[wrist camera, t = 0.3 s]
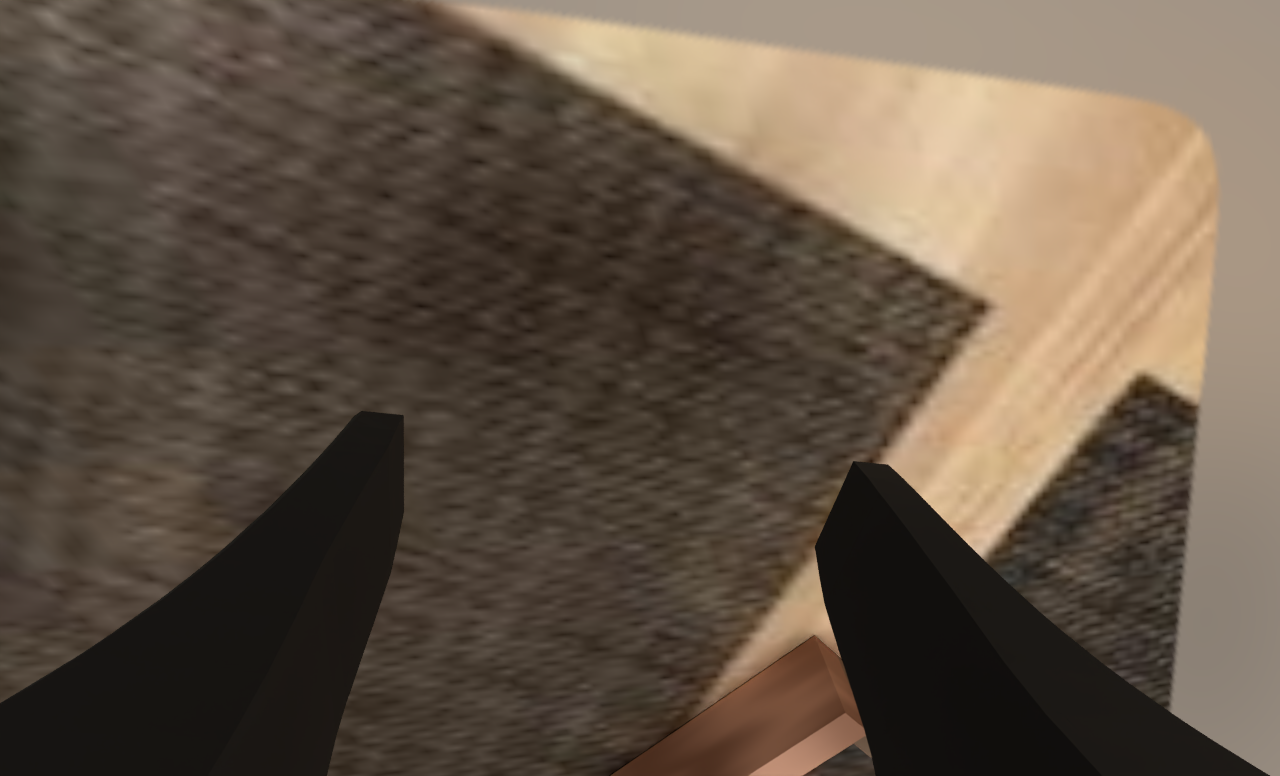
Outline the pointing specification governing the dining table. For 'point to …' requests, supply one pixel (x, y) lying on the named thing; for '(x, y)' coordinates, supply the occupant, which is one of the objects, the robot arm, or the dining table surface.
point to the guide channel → (766, 724)
